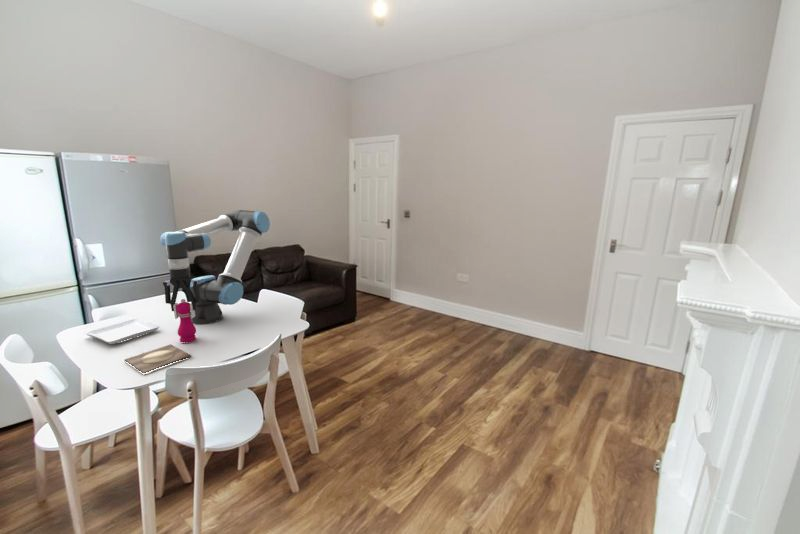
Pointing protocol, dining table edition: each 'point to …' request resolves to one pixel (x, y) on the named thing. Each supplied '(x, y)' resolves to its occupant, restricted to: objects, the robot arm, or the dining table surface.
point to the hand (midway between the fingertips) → (185, 317)
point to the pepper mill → (185, 322)
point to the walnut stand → (157, 358)
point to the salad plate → (118, 325)
